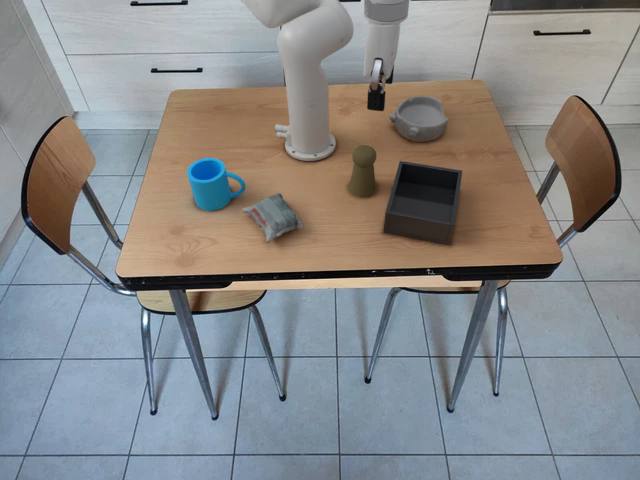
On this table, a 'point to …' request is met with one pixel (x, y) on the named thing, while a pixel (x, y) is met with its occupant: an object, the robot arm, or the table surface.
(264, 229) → the packaged food
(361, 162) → the olive pawn
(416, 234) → the open box
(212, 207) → the mug
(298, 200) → the table surface
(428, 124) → the dish
